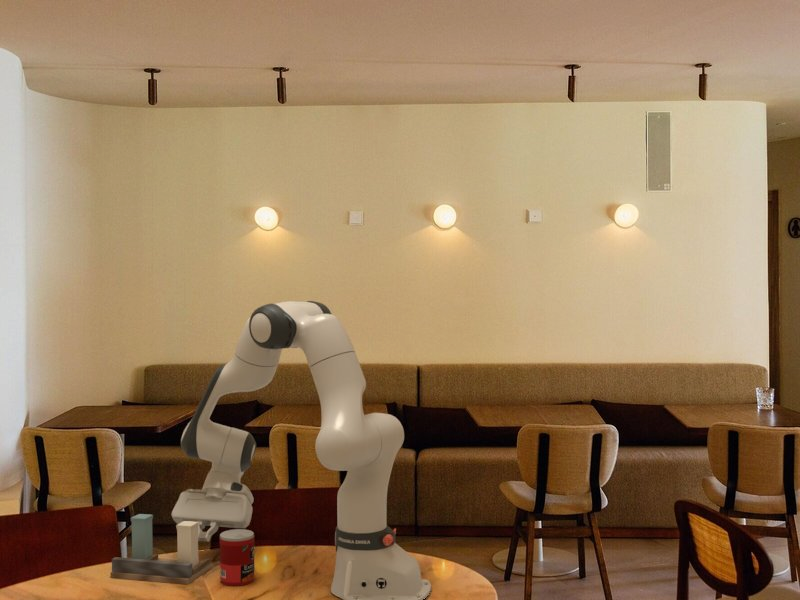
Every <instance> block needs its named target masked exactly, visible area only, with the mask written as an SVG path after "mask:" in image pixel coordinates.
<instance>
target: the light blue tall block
mask: <svg viewBox="0 0 800 600" xmlns="http://www.w3.org/2000/svg"><path fill="white" fill-rule="evenodd" d="M153 519H154V514H150V513H149V514H147V513H145V514H144V513H138V514H136V515H133V516H132V517H130V522H131V556H132V558H133V559H145V560H146V559H148V558H150V557H151V556H153V555H154V551H153V550H154V549H153V548H154V546H153V545H154V544H153Z"/></svg>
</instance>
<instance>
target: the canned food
mask: <svg viewBox="0 0 800 600" xmlns="http://www.w3.org/2000/svg"><path fill="white" fill-rule="evenodd" d="M219 579H220V582H221V584H223V585H226V586H229V587H241V586H242V587H243V586H246V585H249V584H251V583H252V582H254V579H255V533H254V532H253V531H252V530H249V529H246V528H233V529H229V530H228V529H227V530H225V531H222V532H221V533H220V534H219Z"/></svg>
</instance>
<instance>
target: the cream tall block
mask: <svg viewBox="0 0 800 600" xmlns="http://www.w3.org/2000/svg"><path fill="white" fill-rule="evenodd" d="M198 525H199V522H194V521H183V522H181V523H179V524H176V525H175V527H176V528H175V529H176V532H177V534H176V535H177V536H176V537H177V540H176V541H177V543H176V544H177V560H178V562H182V563H192V568H194V567H195V566H197V565H198V562H199V541H198Z"/></svg>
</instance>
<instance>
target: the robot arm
mask: <svg viewBox="0 0 800 600" xmlns="http://www.w3.org/2000/svg"><path fill="white" fill-rule="evenodd" d="M297 348H300V349H301V350H302V352H303V353H304V355H305V358H306V361H307V364H308V367H309V370H310V373H311V375H312V379H313V382H314V385H315V388H316V392H317V395H318V397H319V398H318V399H319V402H320V410H321V413H320V415H321V423H320V429H319V430H320V431H319V432H318V435H317V436H316V439H315V445H314V446H315V455H316V456H317V460H318V462H320V463H321V465H322V466H323V467H324V468H326V469H328V470H330V471H337V472H339V471H340V472H341V471H342V472H344V471H346V476H345V478H344V480H343V483H342V484H341V486H340V487H339V489H338V490H337V496H336V497H337V498H336V500H337V501H336V502H337V503H336V506H337V508H336V509H337V510H336V511H337V512H336V514H337V516H336V517H337V519H336V520H337V526H336V527H335V532H334V546H335V552H336V559H335V567H334V574H333V579H332V581H331V586H330V592H331V594H332V595H334V596H335V597H338V598H340V599H341V600H423V599H425V598H426V597H427V596H428V595H429V596H430V594H431V592H432V584H431V582H430V580H428V579H425V578H422V573H421V568H420V565H419V563H418V560H417V559H416V558H415V557H414V556H412V555H411V554H410V553H408V552H407V551H406V550H404V549H403V548H402V547H401V546H400V545H399V544H397V543H396V534H397V532H396V531H397V528H396V527H395V528H394V529H392V528H391V527H390V526H388V524H387V508H388V507H387V505H388V502H387V499H388V498H387V497H388V488H389V482H390V478H391V474H392V469H393V465H394V464H395V463H394V462H395V459H396V457H397V454H398V452H399V450H400V449H401V447H402V446H403V444H404V441H405V430H404V427H403V425H402V423H401V421H400V420H399V419H398V418H397V417H396V416H394V415H393V414H389V413H383V412H372V413H368V414H365V413H364V408H363V396H364V395H363V394H364V392H365V390H366V388H367V380H366V378H365V375H364V371H363V370H362V367H361V364H360V362H359V359H358V356H357V353H356V350H355V348H354V345H353V343H352V340H351V338H350V336H349V335H348V332H347V331H346V329H345V327H344V325H343V323H342V322H341V321H340V319H339V318H338V317H337V316H336V315H334V314H332V312H331V310H330V309H329V307H328V306H327V305H325V304H324V303H321V302H318V301H313V300H307V301H295V300H287V301H281V302H276V303H267V304H266V303H265V304H264V305H261V306H259V307H257V308H256V309H254V311H253V312H252V313H251V315H250V316H249V317H248V319H247V320H246V322H245V324H244V326H243V328H242V330H241V332H240V334H239V338H238V341H237V342H236V346H235V350H234V353H233V356H232V358H231V359H230V360H229V361H228V363H226V364H222V365H219V366H218V367H217V368H216V370H215V371H214V373H213V375H212V377H211V378H210V381H209V383H208V384H207V386H206V388H205V390H204V392H203V394H202V397H201V399H200V401H199V402H198V405H197V407H196V409H195V412H194V413H193V416H192V417H191V419H190V421H189V422H188V423H187V425H186V426H185V428H184V429H183V432H182V435H181V438H180V447H181V449H182V451H183V453H184V454H185V455H186V457H188V458H191V459H197V460H204V461H208V462H211V468H210V470H209V471H208V473H207V475H206V477H205V481H204V483H203V486H202V488H201V489H199V488H197V489H193V488H188V489H186V490H183V491H182V492H181V493H180V494H179V497H178V499H177V501H176V502H175V505H174V507H173V509H172V511H171V517H172V520H173V521H174V522H175V523H176V525H178V524H179V523H181V522H183V521H194V522H199V525H198V542H208V543H209V542H210V540H211V538H212V536H214V534H215V533H217V532H218V530H219V527H220V528H221V527H222V528H233V529H246V528H247V527H248V526H250V523H251V520H252V514H253V506H252V504H253V503H254V499H255V498H254V496H253V494H252V492H251V490H250V489H249V487H248V486H247V485H246V484H243V483H241V479H242V477H243V475H244V473H245V472H246V471H248V470H249V469H250V468H251V466H252V465H251V464H252V460H253V458H254V456H255V453H256V450H257V442H256V440H255V438H254V436H253V435H252V434H251V433H250V432H249V431H246V430H243V429H239V428H236V427H230V426H227V425H223V424H220V423H217V422H213V421H212V420H211V419H210V418H211V415H212V413H213V411H214V409H215V407H216V406H217V403H218V401H219V399H220V398H221V397H223V396H225V395H228V394H229V395H230V394H235V393H247V392H255V391H258V390H260V389H262V388H265V387H267V385H269V384H270V383H271V382H272V381H273V379H274V377H275V374H276V373H277V372H276V371H277V369H278V365H279V362H280V359H281V355H282V351H283V349H297ZM206 527H210V528H209V529H208V530H207V531H203V530H204V529H205V528H206ZM430 591H431V592H430ZM429 593H430V594H429ZM429 596H428V597H429ZM428 597H427V598H428ZM427 598H426V599H427ZM426 599H425V600H426Z"/></svg>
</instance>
